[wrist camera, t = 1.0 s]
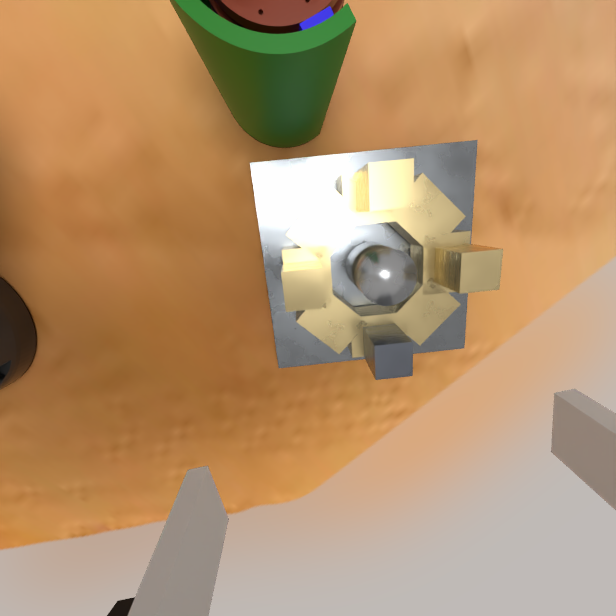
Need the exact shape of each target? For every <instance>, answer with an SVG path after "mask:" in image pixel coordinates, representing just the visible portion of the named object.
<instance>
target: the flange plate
mask: <svg viewBox="0 0 616 616" xmlns="http://www.w3.org/2000/svg"><path fill="white" fill-rule="evenodd" d="M476 155H477V140H474V141H464V142H454V143H444V144H434V145H424V146H414V147H404V148H394V149H384V150H374V151H364V152H354V153H344V154H334V155H324V156H314V157H304V158H294V159H284V160H274V161H264V162H254V163H250V167H251V175H252V182H253V189H254V196H255V203H256V210H257V217H258V224H259V231H260V238H261V245H262V252H263V259H264V266H265V274H266V281H267V288H268V295H269V302H270V309H271V316H272V323H273V330H274V337H275V344H276V351H277V358H278V365H279V368H286V367H295V366H304V365H313V364H323V363H332V362H341V361H350V360H360V359H365V357H356V358H352V355H351V353H350V351H349V348H348V346H347V347H346V348H345V349H344V350H343V351H342V352H341V353H340V354H338V353H337V352H335V351H334V350H333V349H332V348H330V347H329V346H328V345H326V344H325V343H324V342H322V341H321V340H320V339H318V338H317V337H316V336H314V335H313V334H312V333H310V332H309V331H308V330H306V329H305V328H304V327H302V326H301V325H300V324H298V323H297V322H296V311H291V312H286V309H285V301H284V293H283V285H282V277H281V270H282V266H283V258H282V248H283V247H288V246H298V244H296V243H295V242H294V241H293V240H292V239H290V238H289V237H288V236H287V235H286V234H287V232H288V231H289V230H290V228H291V227H292V226H293V225H294V223H295V222H296V221H297V219H298V218H299V217H300V216H301V214H302V213H303V212H304V210H305V209H306V208H307V207H308V205H309V204H310V203H311V201H312V200H313V199H314V198H315V196H316V195H317V194H318V192H319V191H320V190H321V189H322V187H323V186H324V185H325V184H326V183H328V184H329V185H330V186H331V187H332V188H334V189H335V190H336V191H337V178H338V177H339V176H340V175H341V174H345V173H355V172H357V171H358V170H359V169H361V168H362V167H363V166H365V165H366V164H367V163H371V162H381V161H391V160H401V159H411V158H414V176H415V175H417V174H420V173H423V174H424V175H425V176H426V177H427V178H428V179H429V180H430V181H431V182H432V183H433V184H434V185H435V186H436V187H437V188H438V189H439V190H440V191H441V192H442V193H443V194H444V195H445V196H446V197H447V198H448V199H449V200H450V201H451V202H452V203H453V204H454V205H455V206H456V207H457V208H458V209H459V210H460V211H461V212H462V213H463V214H464V215H465V216H466V217H465V218H464V219H463V220H462V221H461V222H460V223H459V224H458V225H457V226H456V228H455V229H454V230H467V231H471V234H472V218H473V202H474V186H475V170H476ZM470 244H471V236H470ZM330 263H331V276H332V290H334V291H335V292H336V293H337V294H338V295H340V296H341V297H342V298H343V299H345V300H346V301H347V302H348V303H350V304H351V305H352V306H353V307H361V306H371V305H381V306H392V305H395V304H398V303H400V302H402V301H403V300H405V299H406V298H407V297H408V296H409V295H410V294H411V293H412V291H413V289H414V287H415V285H416V281H417V269H416V265H415V263H414V261H413V260H412V258H411V257H410V243H409V242H408V241H407V240H405V239H404V238H403V237H402V236H401V235H400V234H399V233H398V232H397V231H396V230H395V229H394V228H392V227H391V226H390V225H389V224H388V223H387V222H384V223H374V224H364V225H356V226H355V227H354V228H353V230H352V231H351V232H350V233H349V234H348V236H347V237H346V238H345V239H344V241H343V242H342V243H341V244H340V245H339V247H338V248H337V249H336V250H335V251H334V253H333V254H332V255H331V256H330ZM449 294H450V295H451V296H452V297H453V298H454V299H456V300H457V301H458V302H459V303H460V304H461V305H460V306H459V307H458V308H457V309H456V310H455V311H454V312H453V313H452V314H451V315H450V316H449V317H448V318H447V319H446V320H445V321H444V322H443V323H442V324H441V325H440V326H439V327H438V328H437V329H436V330H435V331H434V332H433V333H432V334H431V335H430V336H429V337H428V338H427V339H426V340H425V341H424V342H423V343H422V344H421V345H419V344H417V343H416V342H415V341H414V340H412V339H411V338H410V337H409V336H408V335H407V336H408V337H409V338H410V339H411V341H412V342H413V354H415V353H425V352H434V351H443V350H452V349H462V348H464V345H465V329H466V313H467V297H468V293H462V294H459V293H457V292H449Z"/></svg>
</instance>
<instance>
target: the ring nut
mask: <svg viewBox="0 0 616 616" xmlns="http://www.w3.org/2000/svg"><path fill="white" fill-rule="evenodd" d="M465 217H466V216H465V215H464V214H463V213H462V212H461V211H460V210H459V209H458V208H457V207H456V206H455V205H454V204H453V203H452V202H451V201H450V200H449V199H448V198H447V197H446V196H445V195H444V194H443V193H442V192H441V191H440V190H439V189H438V188H437V187H436V186H435V185H434V184H433V183H432V182H431V181H430V180H429V179H428V178H427V177H426V176H425V175H424V174H423V173H420V174H417V175H415V176H414V158H411V159H401V160H391V161H381V162H371V163H367V164H366V165H365V166H363V167H362V168H361V169H359V170H358V171H357V172H355V173H345V174H341V175H340V176H339V177H338V178H337V191H336V190H335V189H334V188H332V187H331V186H330V185H329V184H328V183H326V184H325V185H324V186H323V187H322V189H321V190H320V191H319V192H318V194H317V195H316V196H315V198H314V199H313V200H312V201H311V203H310V204H309V205H308V207H307V208H306V209H305V210H304V212H303V213H302V214H301V216H300V217H299V218H298V219H297V221H296V222H295V223H294V225H293V226H292V227H291V228H290V230H289V231H288V232H287V234H286V235H287V236H288V237H289V238H290V239H292V240H293V241H294V242H295V243H296V244H298V246H288V247H283V248H282V258H283V266H282V270H281V277H282V285H283V293H284V301H285V309H286V312H291V311H296V322H297V323H298V324H300V325H301V326H302V327H304V328H305V329H306V330H308V331H309V332H310V333H312V334H313V335H314V336H316V337H317V338H318V339H320V340H321V341H322V342H324V343H325V344H326V345H328V346H329V347H330V348H332V349H333V350H334V351H335V352H337V353H338V354H340V353H341V352H342V351H343V350H344V349H345V348H346V347H347V346H348V348H349V351H350V353H351V355H352V358H356V357H365V359H366V361H367V363H368V365H369V367H370V369H371V371H372V373H373V375H374V378H375V380H379V379H388V378H398V377H407V376H412V375H413V342H412V341H411V339H412V340H414V341H415V342H416V343H417V344H419V345H421V344H422V343H423V342H424V341H425V340H426V339H427V338H428V337H429V336H430V335H431V334H432V333H433V332H434V331H435V330H436V329H437V328H438V327H439V326H440V325H441V324H442V323H443V322H444V321H445V320H446V319H447V318H448V317H449V316H450V315H451V314H452V313H453V312H454V311H455V310H456V309H457V308H458V307H459V306H460V305H461V304H460V303H459V302H458V301H457V300H456V299H454V298H453V297H452V296H451V295H450V294H449V292H457V293H459V294H462V293H471V292H481V291H490V290H499V287H500V277H501V266H502V256H503V249H500V248H493V247H487V246H480V245H473V244H470V236H471V231H467V230H454V229H455V228H456V226H457V225H458V224H459V223H460V222H461V221H462V220H463V219H464V218H465ZM384 222H387V223H388V224H389V225H390V226H391V227H392V228H394V229H395V230H396V231H397V232H398V233H399V234H400V235H401V236H402V237H403V238H404V239H405V240H407V241H408V242H409V243H410V257H411V258H412V260H413V261H414V263H415V265H416V269H417V281H416V285H415V287H414V289H413V291H412V293H411V294H410V295H409V296H408V297H407V298H406V299H405V300H403V301H402V302H400V303H398V304H395V305H392V306H381V305H371V306H361V307H353V306H352V305H351V304H350V303H348V302H347V301H346V300H345V299H343V298H342V297H341V296H340V295H338V294H337V293H336V292H335V291H334V290H332V276H331V263H330V256H331V255H332V254H333V253H334V251H335V250H336V249H337V248H338V247H339V245H340V244H341V243H342V242H343V241H344V239H345V238H346V237H347V236H348V234H349V233H350V232H351V231H352V230H353V228H354V227H355V226H356V225H364V224H374V223H384ZM407 335H408V336H409V337H410V338H411V339H410V338H409V337H408V336H407Z"/></svg>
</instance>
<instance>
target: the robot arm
mask: <svg viewBox="0 0 616 616" xmlns="http://www.w3.org/2000/svg"><path fill="white" fill-rule="evenodd" d="M35 348H36V335H35V329H34V325H33V322H32V319H31V316H30V314H29V312H28V310H27V308H26V306H25V305H24V303H23V302H22V300H21V299H20V297H19V296H18V295H17V293H16V292H15V291H14V290H13V289H12V288H11V287H10V286H9V285H8V284H7V283H6V282H5V281H4V280H3V279H2V278H0V389H2V388H4V387H5V386H7V385H9V384H11V383H12V382H14V381H16V380H17V379H18V378H20V377H21V376H22V375H23V374H24V373H25V372H26V370H27V369H28V367H29V366H30V364H31V362H32V360H33V357H34V354H35ZM551 452H552V453H553V454H554V455H555V456H556V457H557V458H558V459H560V460H561V461H562V462H563V463H564V464H565V465H566V466H567V467H569V468H570V469H571V470H572V471H573V472H574V473H575V474H576V475H577V476H578V477H579V478H581V479H582V480H583V481H584V482H585V483H586V484H587V485H588V486H590V487H591V488H592V489H593V490H594V491H595V492H596V493H597V494H598V495H599V496H600V497H602V498H603V499H604V500H605V501H606V502H607V503H608V504H609V505H611V506H612V507H613V508H614V509H615V510H616V413H614V412H612V411H611V410H609V409H607V408H606V407H604V406H602V405H601V404H599V403H598V402H596V401H594V400H593V399H591V398H589V397H588V396H586V395H584V394H583V393H581V392H579V391H578V390H576V389H571V390H567V391H562V392H557V393H554V408H553V428H552V448H551ZM228 520H229V519H228V516H227V513H226V511H225V508H224V506H223V503H222V501H221V498H220V496H219V493H218V491H217V488H216V486H215V483H214V480H213V478H212V475H211V473H210V470H209V468H208V466H204V467H199V468H195V469H190V470H188V471H187V473H186V475H185V478H184V480H183V483H182V485H181V488H180V490H179V492H178V495H177V497H176V500H175V502H174V504H173V507H172V509H171V512H170V514H169V517H168V519H167V521H166V524H165V526H164V529H163V531H162V534H161V536H160V538H159V541H158V543H157V546H156V548H155V551H154V553H153V555H152V558H151V560H150V563H149V565H148V567H147V570H146V572H145V575H144V577H143V579H142V582H141V584H140V587H139V589H138V592H137V594H136V596H135V597H134V598H130V599H125V600H120V601H117V603H116V604H115V605H114V607H113V608H112V610H111V611H110V613H109V614H108V615H107V616H208V614H209V610H210V605H211V600H212V596H213V591H214V585H215V581H216V577H217V572H218V567H219V562H220V558H221V553H222V548H223V543H224V538H225V534H226V529H227V524H228Z"/></svg>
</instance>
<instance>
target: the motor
mask: <svg viewBox="0 0 616 616" xmlns="http://www.w3.org/2000/svg"><path fill="white" fill-rule="evenodd" d="M170 2H171V4H172V5H173V7H174V9H175V11H176V13H177V14H178V16H179V18H180V20H181V22H182V24H183V25H184V27H185V29H186V31H187V33H188V35H189V36H190V38H191V40H192V42H193V44H194V45H195V47H196V49H197V51H198V53H199V55H200V56H201V58H202V60H203V62H204V64H205V66H206V67H207V69H208V71H209V73H210V75H211V76H212V78H213V80H214V82H215V84H216V86H217V87H218V89H219V91H220V93H221V95H222V97H223V98H224V100H225V102H226V104H227V106H228V107H229V109H230V111H231V113H232V115H233V116H234V118H235V119H236V121H237V122H238V124H239V125H240V126H241V127H242V128H243V129H244V130H245V131H246V132H247V133H248V134H249V135H250V136H252V137H253V138H255V139H256V140H258V141H260V142H262V143H264V144H267V145H270V146H274V147H281V148H288V147H295V146H299V145H302V144H304V143H306V142H308V141H310V140H312V139H313V138H315V137H316V136H317V135H318V134H320V131H321V128H322V125H323V121H324V118H325V115H326V112H327V109H328V106H329V103H330V100H331V97H332V94H333V91H334V88H335V85H336V82H337V79H338V75H339V72H340V69H341V66H342V63H343V60H344V57H345V54H346V51H347V48H348V45H349V42H350V39H351V36H352V33H353V30H354V26H355V23H356V19H355V17H354V15H353V13H352V11H351V9H350V7H349V5H348V3H347V4H346V5H345V6H344V7H343V3H344V0H170Z"/></svg>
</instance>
